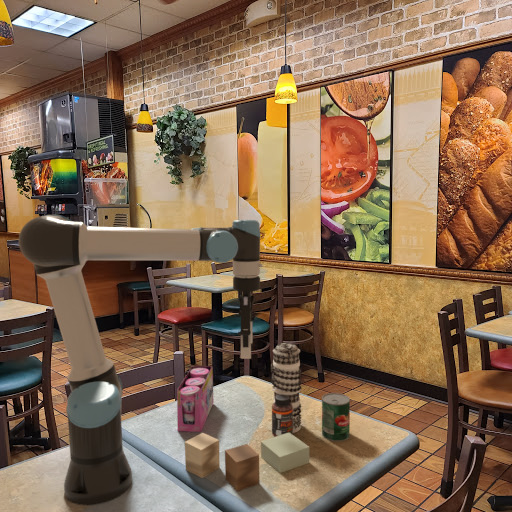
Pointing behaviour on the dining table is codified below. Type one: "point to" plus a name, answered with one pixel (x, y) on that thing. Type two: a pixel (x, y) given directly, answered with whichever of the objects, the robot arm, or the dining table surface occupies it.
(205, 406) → the gum box
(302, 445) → the pedestal block
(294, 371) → the decorative candle
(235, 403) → the dining table surface
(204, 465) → the maple block
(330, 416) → the canned tomato
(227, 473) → the walnut block
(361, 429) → the dining table surface
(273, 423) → the supplement bottle
